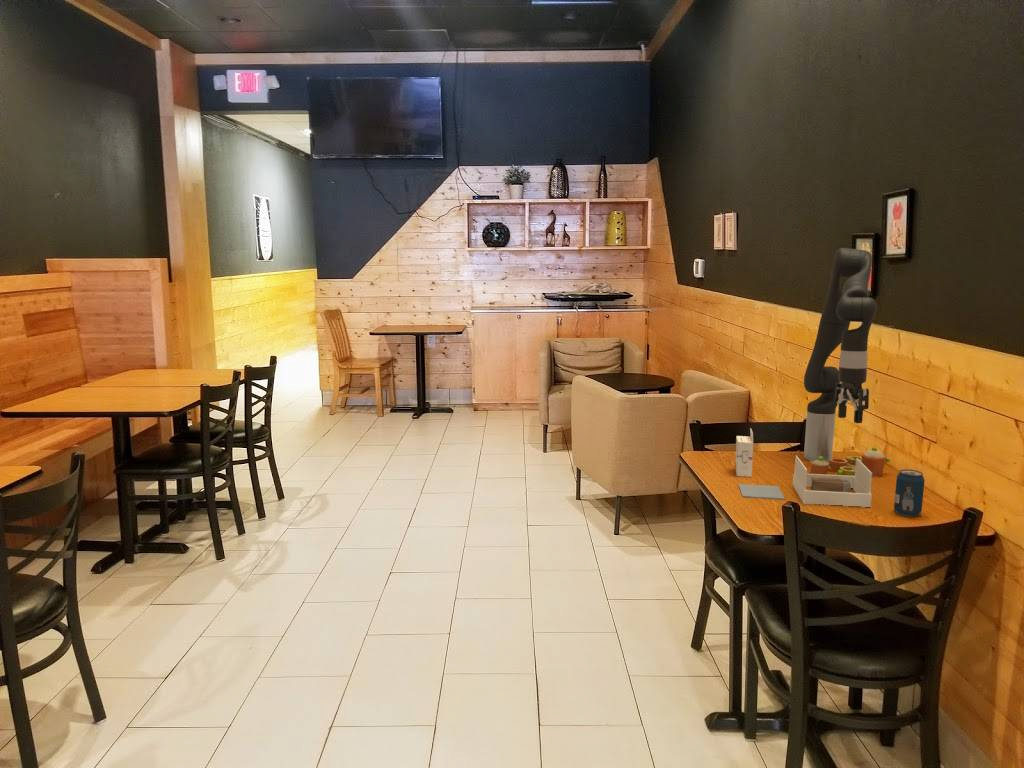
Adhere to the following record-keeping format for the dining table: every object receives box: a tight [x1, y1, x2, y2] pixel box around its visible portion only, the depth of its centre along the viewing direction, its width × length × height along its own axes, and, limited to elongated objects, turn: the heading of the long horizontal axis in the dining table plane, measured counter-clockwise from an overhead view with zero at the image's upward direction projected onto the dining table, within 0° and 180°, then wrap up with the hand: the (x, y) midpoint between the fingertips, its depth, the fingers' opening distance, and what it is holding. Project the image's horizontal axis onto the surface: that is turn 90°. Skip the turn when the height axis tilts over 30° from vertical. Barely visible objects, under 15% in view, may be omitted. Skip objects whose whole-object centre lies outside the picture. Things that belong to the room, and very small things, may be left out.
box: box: [810, 477, 851, 493], centre depth 226 cm, size 5×10×5 cm, turn 79°
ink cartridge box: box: [734, 427, 754, 478], centre depth 249 cm, size 9×5×15 cm, turn 168°
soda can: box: [893, 468, 926, 517], centre depth 211 cm, size 7×7×12 cm
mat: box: [737, 483, 786, 500], centre depth 230 cm, size 12×12×1 cm
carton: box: [792, 454, 873, 509], centre depth 226 cm, size 18×18×10 cm
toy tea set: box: [809, 446, 891, 477], centre depth 248 cm, size 26×16×10 cm, turn 118°
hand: (849, 420), depth 222 cm, fingers open, 8 cm apart
